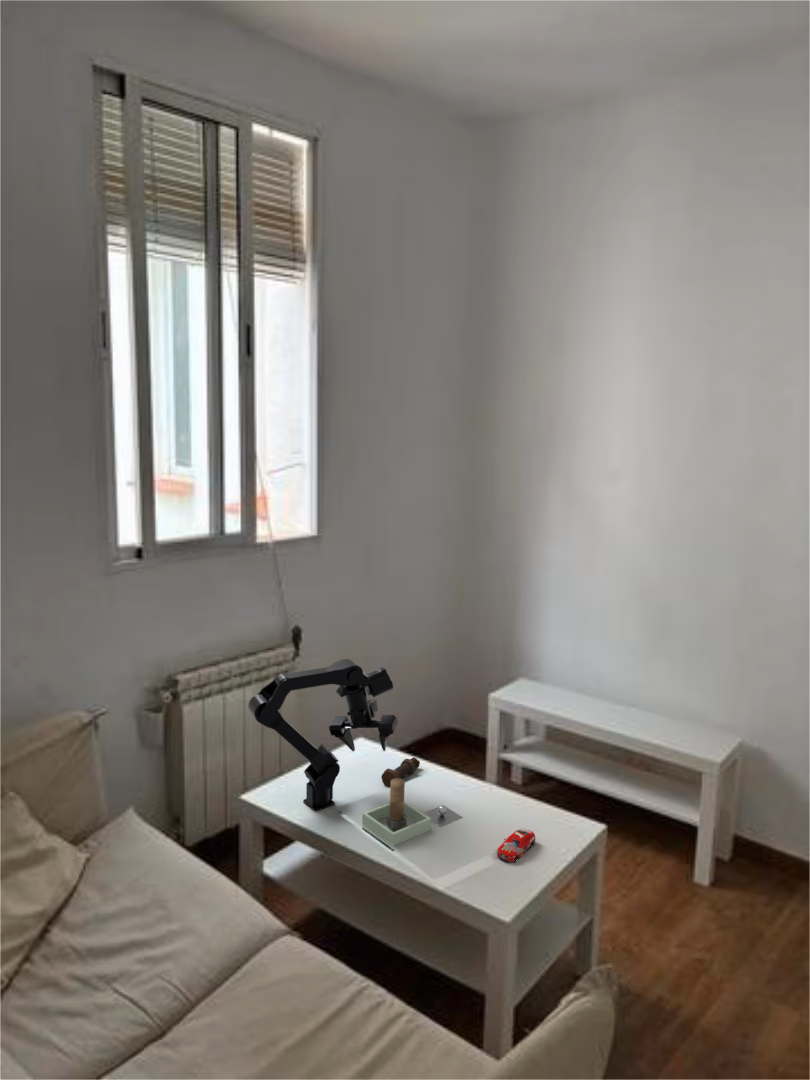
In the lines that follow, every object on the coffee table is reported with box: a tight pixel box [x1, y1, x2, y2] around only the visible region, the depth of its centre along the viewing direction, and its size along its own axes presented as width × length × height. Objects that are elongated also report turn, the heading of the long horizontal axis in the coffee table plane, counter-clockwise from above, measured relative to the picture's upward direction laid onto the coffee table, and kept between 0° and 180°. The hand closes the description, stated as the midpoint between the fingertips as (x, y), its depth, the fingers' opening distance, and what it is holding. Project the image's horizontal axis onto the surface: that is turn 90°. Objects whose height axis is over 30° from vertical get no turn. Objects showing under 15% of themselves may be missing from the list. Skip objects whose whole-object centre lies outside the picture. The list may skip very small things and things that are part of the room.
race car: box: [496, 828, 536, 863], centre depth 198 cm, size 13×5×4 cm, turn 141°
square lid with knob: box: [422, 804, 464, 828], centre depth 211 cm, size 8×8×4 cm
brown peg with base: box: [385, 778, 408, 832], centre depth 204 cm, size 4×4×13 cm
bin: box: [361, 800, 432, 852], centre depth 205 cm, size 13×13×4 cm
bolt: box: [380, 757, 421, 789], centre depth 234 cm, size 6×5×15 cm
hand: (369, 750), depth 223 cm, fingers open, 9 cm apart
